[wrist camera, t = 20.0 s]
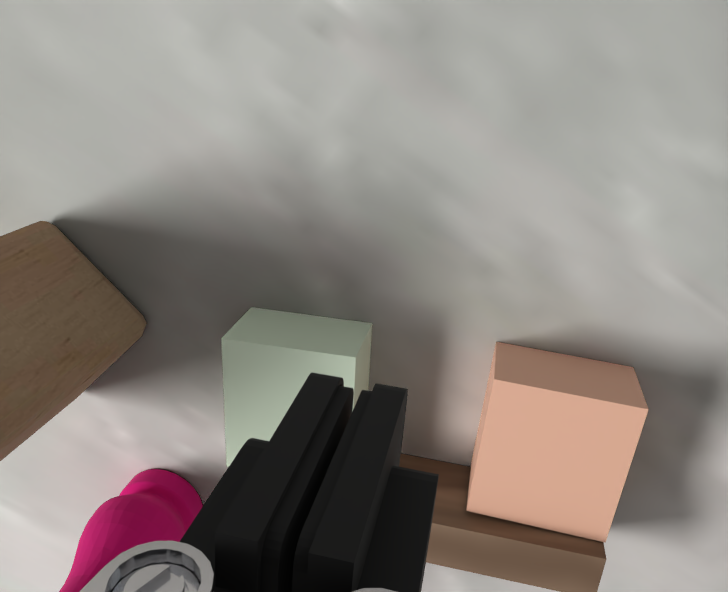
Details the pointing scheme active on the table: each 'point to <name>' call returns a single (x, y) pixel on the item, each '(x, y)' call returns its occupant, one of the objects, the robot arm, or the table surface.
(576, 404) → the terracotta block
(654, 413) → the table surface
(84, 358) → the wooden block
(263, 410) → the sage block
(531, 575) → the walnut board
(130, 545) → the pepper mill
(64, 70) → the table surface
